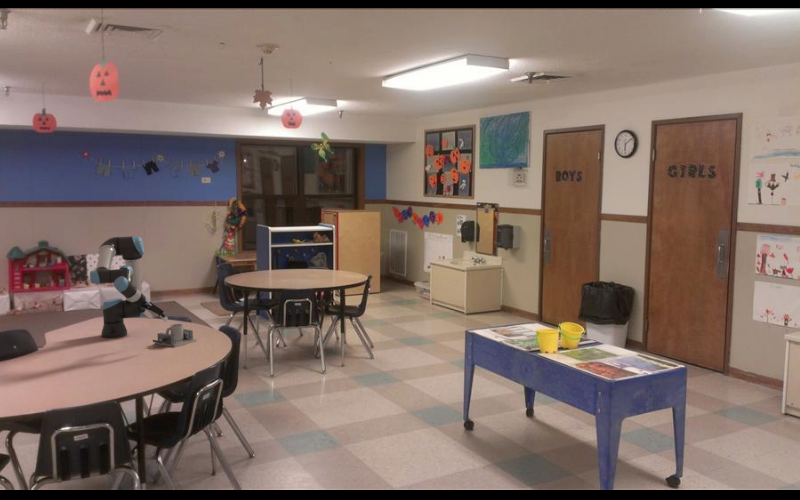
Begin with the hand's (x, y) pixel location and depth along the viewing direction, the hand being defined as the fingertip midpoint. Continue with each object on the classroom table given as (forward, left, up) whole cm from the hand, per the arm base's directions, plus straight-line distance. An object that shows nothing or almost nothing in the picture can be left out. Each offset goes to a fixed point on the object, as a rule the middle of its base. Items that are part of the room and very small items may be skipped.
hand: (159, 318), depth 375 cm
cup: (0, +11, -15) cm, 19 cm away
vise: (0, +8, -17) cm, 18 cm away
